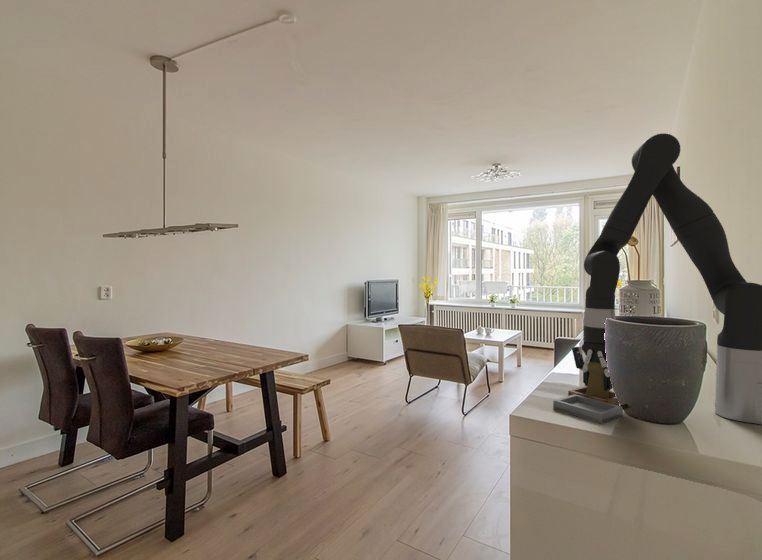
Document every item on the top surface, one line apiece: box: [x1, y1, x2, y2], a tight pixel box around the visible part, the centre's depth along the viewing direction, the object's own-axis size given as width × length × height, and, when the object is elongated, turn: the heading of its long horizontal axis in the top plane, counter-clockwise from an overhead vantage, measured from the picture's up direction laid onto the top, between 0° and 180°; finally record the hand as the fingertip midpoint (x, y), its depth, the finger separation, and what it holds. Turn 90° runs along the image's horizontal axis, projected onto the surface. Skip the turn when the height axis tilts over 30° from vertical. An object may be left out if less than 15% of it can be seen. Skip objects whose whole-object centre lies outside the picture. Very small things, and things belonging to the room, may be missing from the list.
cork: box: [586, 361, 609, 400], centre depth 107 cm, size 6×6×11 cm
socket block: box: [567, 385, 619, 406], centre depth 107 cm, size 10×10×2 cm
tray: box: [553, 394, 623, 425], centre depth 99 cm, size 12×10×2 cm
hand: (597, 387), depth 107 cm, fingers closed on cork, 4 cm apart
